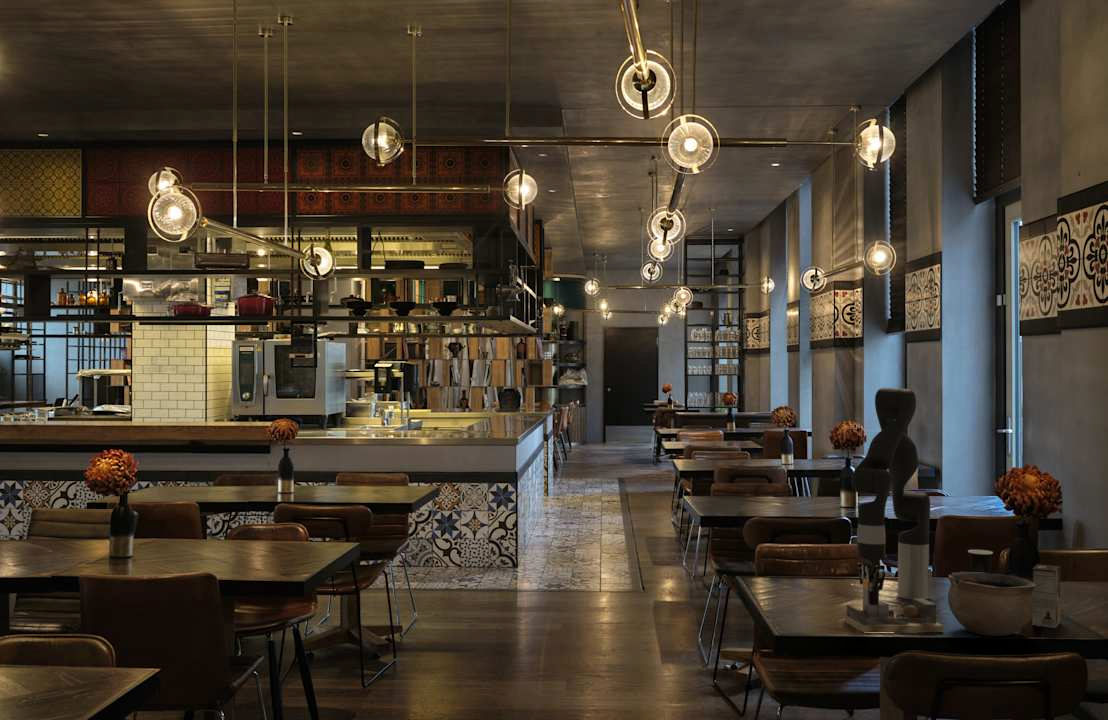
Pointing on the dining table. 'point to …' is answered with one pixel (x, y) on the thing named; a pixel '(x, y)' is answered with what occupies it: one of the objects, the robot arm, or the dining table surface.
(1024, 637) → the dining table surface
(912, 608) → the walnut
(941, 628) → the base
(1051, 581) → the coffee box
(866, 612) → the lever
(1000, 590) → the ceramic bowl
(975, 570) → the dixie cup
